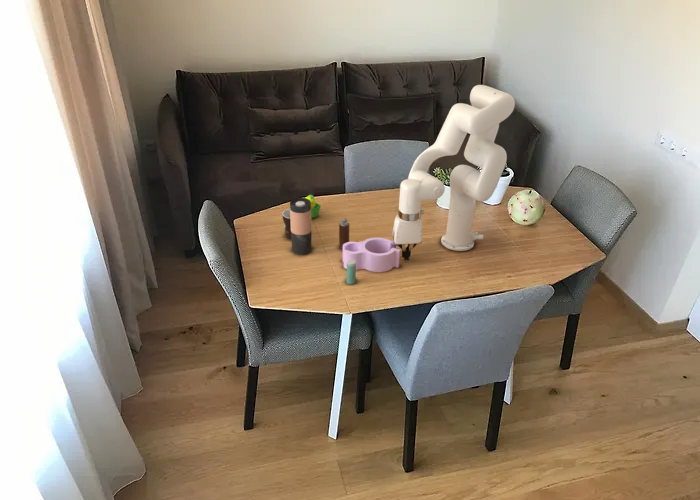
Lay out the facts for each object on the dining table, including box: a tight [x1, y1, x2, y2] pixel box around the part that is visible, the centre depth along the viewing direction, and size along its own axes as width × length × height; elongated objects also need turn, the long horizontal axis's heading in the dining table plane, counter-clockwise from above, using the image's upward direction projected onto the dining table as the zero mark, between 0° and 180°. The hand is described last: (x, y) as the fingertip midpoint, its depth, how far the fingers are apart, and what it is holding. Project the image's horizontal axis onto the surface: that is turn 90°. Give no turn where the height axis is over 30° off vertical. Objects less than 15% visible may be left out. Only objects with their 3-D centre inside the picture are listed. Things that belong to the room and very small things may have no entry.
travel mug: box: [289, 197, 313, 256], centre depth 216 cm, size 8×8×20 cm
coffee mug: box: [281, 208, 292, 241], centre depth 228 cm, size 12×9×10 cm
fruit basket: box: [288, 194, 322, 220], centre depth 239 cm, size 11×9×11 cm
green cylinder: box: [345, 260, 357, 285], centre depth 201 cm, size 3×3×8 cm
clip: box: [341, 237, 401, 273], centre depth 212 cm, size 20×12×7 cm, turn 97°
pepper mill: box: [338, 217, 350, 251], centre depth 220 cm, size 4×4×13 cm
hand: (405, 258), depth 215 cm, fingers closed
